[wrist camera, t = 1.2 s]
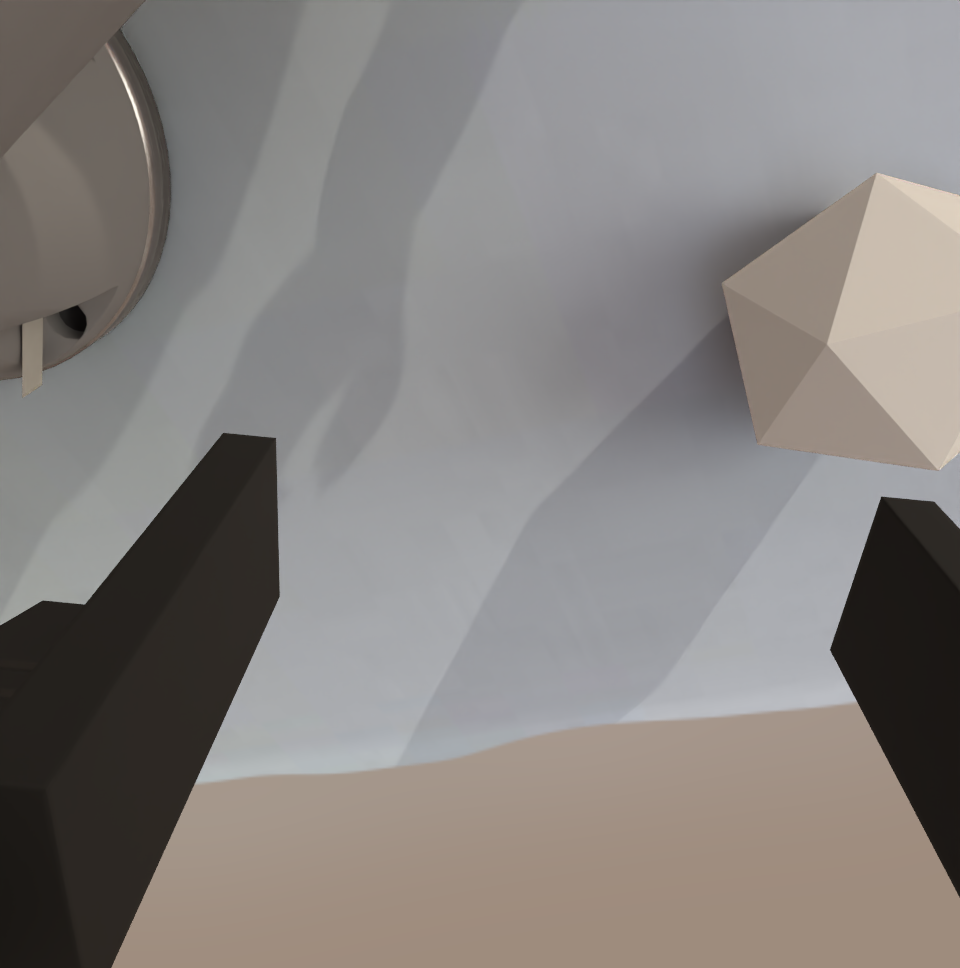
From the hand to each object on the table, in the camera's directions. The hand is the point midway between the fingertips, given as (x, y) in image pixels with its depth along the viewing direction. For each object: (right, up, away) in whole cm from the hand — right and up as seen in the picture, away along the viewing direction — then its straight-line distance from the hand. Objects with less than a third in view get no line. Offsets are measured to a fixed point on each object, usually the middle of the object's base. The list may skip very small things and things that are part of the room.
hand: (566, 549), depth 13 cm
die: (+11, +8, +18) cm, 22 cm away
